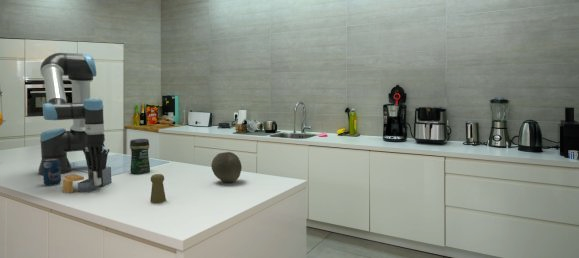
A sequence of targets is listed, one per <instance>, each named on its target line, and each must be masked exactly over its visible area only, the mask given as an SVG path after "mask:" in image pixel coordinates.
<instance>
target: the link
mask: <svg viewBox="0 0 579 258" xmlns="http://www.w3.org/2000/svg"><path fill="white" fill-rule="evenodd" d="M112 181H113V180H112V167H111V166H106V169H104V170H102V178H101V185H98V186H94V178H93V173H92V170H90V169H88V168H87V179H84V180H81V181H78V182H77V192H78V193H90V192H93V191H95V190H97V189H99V188H103V187H106V186H108V185H110V184H112Z"/></svg>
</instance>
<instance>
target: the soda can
mask: <svg viewBox="0 0 579 258" xmlns="http://www.w3.org/2000/svg"><path fill="white" fill-rule="evenodd" d="M42 177H43V184H44V185H45V186H48V187H51V186H57V185H60V184H61V182H62V174H61V171H60V162H59V160H58V159H57V158H52V159H45V160H44V162H43V175H42Z"/></svg>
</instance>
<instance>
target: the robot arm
mask: <svg viewBox="0 0 579 258" xmlns="http://www.w3.org/2000/svg"><path fill="white" fill-rule="evenodd" d="M39 69H40V75H41V76H42V78H43V79H44V80H43V82H44V88H45V97H46V103H43V104H42V114H43V119H44V120H46V121H61V120H62V121H65V120H72V125H71V126H70V128H69V129H70V130H66V128H65V127H64V128H63V127H62V128H53V129H48V130H44V131H42V132H41V133H40V136H39V137H40V138H39V139H40V140H39V142H40V150H41V151H40V153H41V154H40V155H41V161H40V163H39V166H38V175H41V176H43V162H44V160H45V159H52V158H57V159H58V160H59V162H60V171H61V175H62V174H66V173H70V172H72V171H73V170H72V169H73V168H72V165H71V163H70V160H69V158H68V153H72V152H83V154H84V158H85V162H86V166H87V170H88V169H90V170H92V173H93V178H94V186H98V185H101V178H102V170H104V169H106V167H107V164H108V163H107V161H108V155H109V152H110V149H109V148H107V147H106V146H105V140H106V138H105V135H106V134H105V124H104V123H105V121H104V103H103V100H102V99H101V98H91V83H92V82H93V80H94V77H97V67H96V63H95V58H94V57H93V55H92V54H87V53H71V52H70V53H68V52H56V53H55V52H54V53H52V54H51V55H48V56H47V57H46V58H45V59H43V61H42V63H41V65H40V68H39ZM63 76H65V77H67V79H68V80H69V81H70V82H71V98H72V102H67V97H66V91H65V86H64V81H63Z"/></svg>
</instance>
